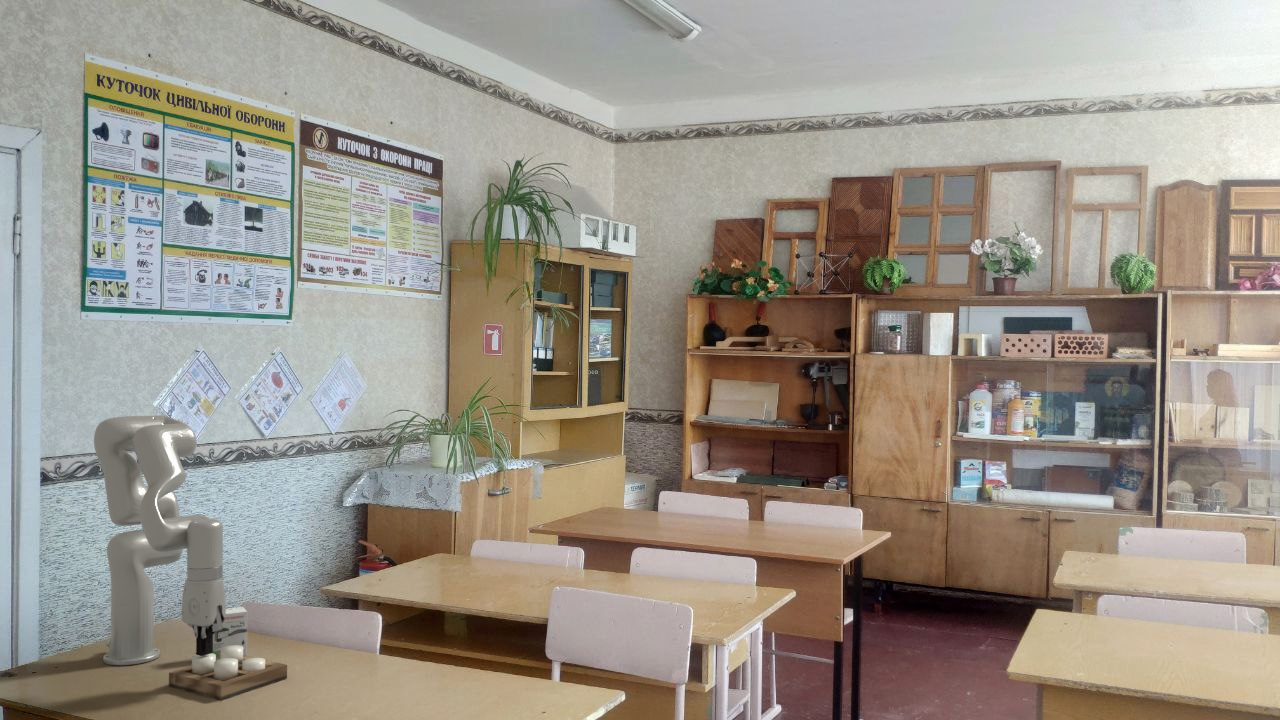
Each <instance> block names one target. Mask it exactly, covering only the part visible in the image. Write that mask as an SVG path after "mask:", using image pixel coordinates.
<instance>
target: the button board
mask: <svg viewBox="0 0 1280 720" xmlns="http://www.w3.org/2000/svg"><path fill="white" fill-rule="evenodd" d="M250 658H256V657H254V656H249V655H247V656H246V655H243V661H244V660H246V659H250ZM217 660H220V658H217V659H216V661H217ZM287 679H288V664H285V663H280V662H276V661H272V660H267V659H265V668H264V669H261V670H258V671H255V672H252V673H251V672H247V671H243V670H242V664H239V665H238V677H236V678H233V679H229V680H216V679H214V672H213V673H209V674H206V675H196V674H192V665H191V666H186V667H183V668H180V669H177V670H176V669H175V670H173V671H169V672H168V688H169V687H170V688H172V689H177V690H180V691H183V692H184V691H185V692H188V693H191V694H196V695H200V696H203V697H207V698H211V699H215V700H218V701H224V700H227V699H230V698H232V697H236V696H239V695H241V694H244V693H248V692H251V691H254V690H257V689H260V688H263V687H266V686H269V685H271V684H275V683H279V682H280V681H284V680H287Z"/></svg>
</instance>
